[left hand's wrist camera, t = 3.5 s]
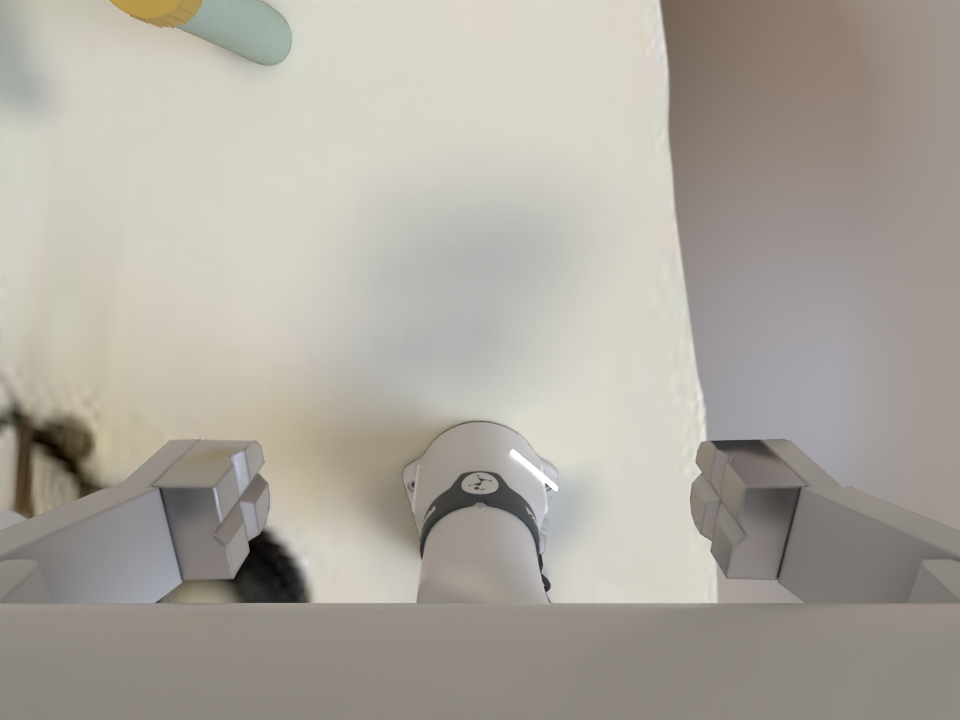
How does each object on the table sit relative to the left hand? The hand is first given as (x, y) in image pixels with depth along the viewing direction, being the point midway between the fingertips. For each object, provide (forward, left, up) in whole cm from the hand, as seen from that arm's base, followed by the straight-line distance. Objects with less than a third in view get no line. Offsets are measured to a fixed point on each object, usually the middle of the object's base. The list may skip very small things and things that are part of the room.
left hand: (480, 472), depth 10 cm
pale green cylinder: (+16, +20, -48) cm, 54 cm away
